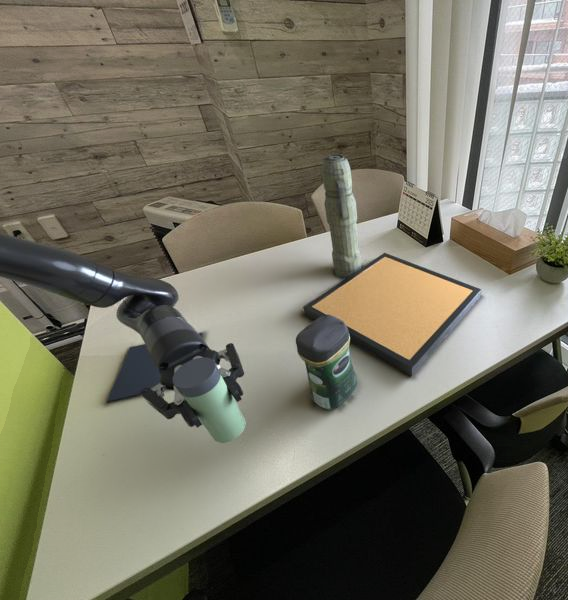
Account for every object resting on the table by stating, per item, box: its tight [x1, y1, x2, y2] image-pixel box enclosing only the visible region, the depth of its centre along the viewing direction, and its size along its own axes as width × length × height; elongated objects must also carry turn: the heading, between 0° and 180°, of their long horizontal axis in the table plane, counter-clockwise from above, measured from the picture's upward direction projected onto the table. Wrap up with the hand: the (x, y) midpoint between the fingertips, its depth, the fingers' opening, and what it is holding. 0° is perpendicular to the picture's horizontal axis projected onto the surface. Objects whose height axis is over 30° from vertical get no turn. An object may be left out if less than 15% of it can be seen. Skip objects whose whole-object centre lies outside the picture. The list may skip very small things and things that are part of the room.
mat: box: [106, 332, 204, 404], centre depth 75 cm, size 16×16×1 cm
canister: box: [172, 358, 247, 444], centre depth 48 cm, size 5×5×14 cm
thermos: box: [321, 154, 363, 279], centre depth 94 cm, size 9×12×35 cm
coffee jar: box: [295, 314, 358, 410], centre depth 63 cm, size 10×8×19 cm
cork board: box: [302, 252, 483, 377], centre depth 90 cm, size 36×3×35 cm
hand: (218, 409), depth 46 cm, fingers closed on canister, 5 cm apart
